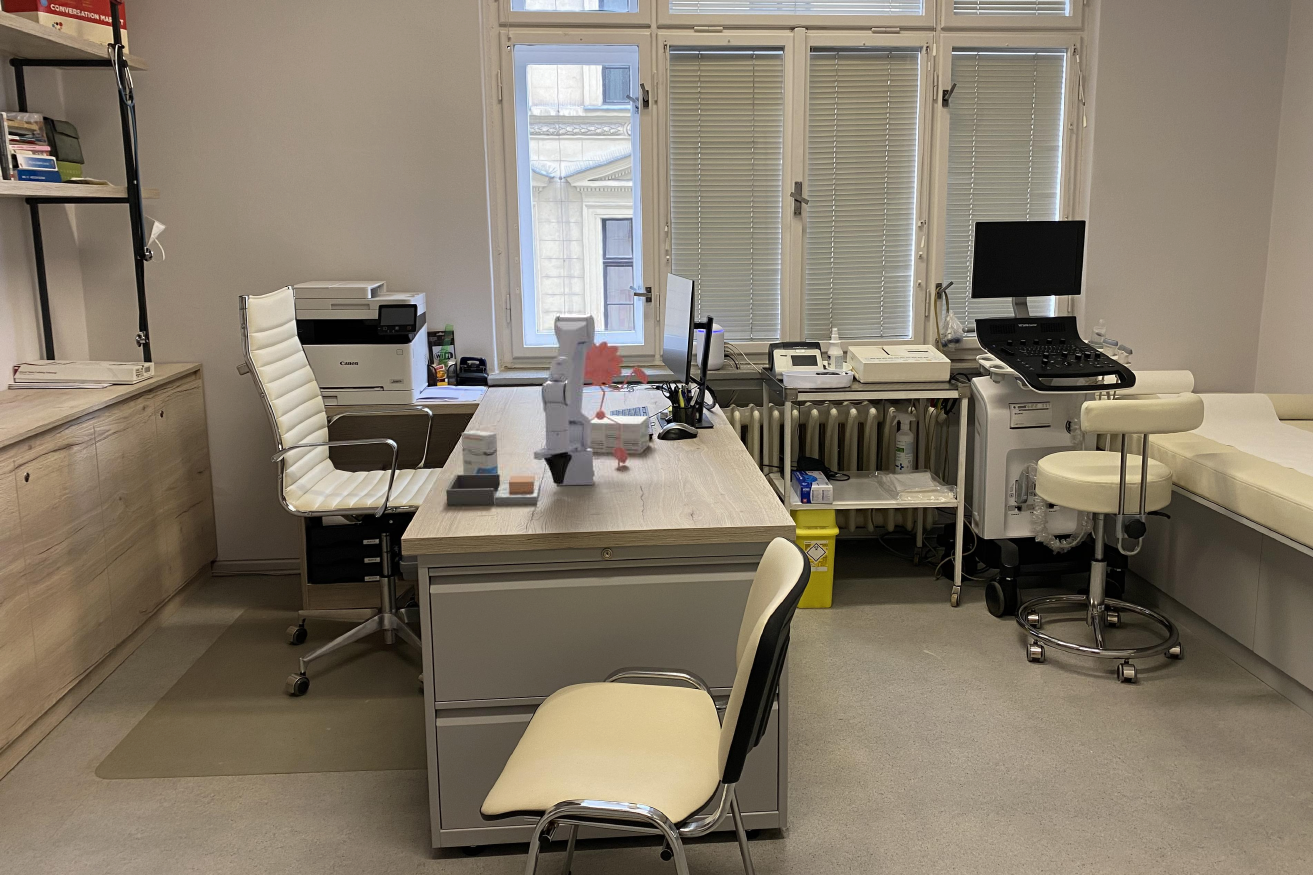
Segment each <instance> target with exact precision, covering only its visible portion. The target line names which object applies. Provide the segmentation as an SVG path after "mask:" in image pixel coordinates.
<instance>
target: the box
mask: <svg viewBox="0 0 1313 875" xmlns="http://www.w3.org/2000/svg"><path fill="white" fill-rule="evenodd" d="M500 480H501V476H500V473H498V474H463V473H462V474H454V475H453V478H452V479H451V481H450V483H449V485H448V487H447V488H446V490H445V491H446V493H445V494H446V506H447V507H476V506H477V507H479V506H480V507H482V506H495V496H496V493H497V491H498V488H499V485H500V483H501V481H500Z"/></svg>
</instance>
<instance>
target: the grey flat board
mask: <svg viewBox="0 0 1313 875" xmlns="http://www.w3.org/2000/svg"><path fill="white" fill-rule="evenodd" d="M540 492H541V480H535V488H534V491H531V492H509V481H508V480H507V481H506V480H505V481H503V480H501V481H500V485H499V488H498V491H497V493H496V496H495V504H494V506H526V505H527V506H532V505H535V506H536V505H538V502H539V496H540Z"/></svg>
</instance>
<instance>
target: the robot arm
mask: <svg viewBox="0 0 1313 875" xmlns="http://www.w3.org/2000/svg"><path fill="white" fill-rule="evenodd" d="M595 323H596V322H595V317H594V316H593V315H592V314H561V313H559V314H557V315H556V316H555V318H554V322H553V328H554V330H553V331H554V335H555V337H556V340H557V344H558V348H557V350H558V351H557V357H555V358H554V359H552V360H551V365H550V367H549V368H550V369H549V373H548V377H547V381H546V382H545V383H543V384H542V386H541V395H540V396H541V402H542V409H543V412H544V415H545V417H544V419H545V420H544V422H545V423H544V424H545V445H544V446H543V447H542V448H540V449H538V450H534V451H533V459H534V460H537V461H542V460H544V461H545V463H546V465H547V466H548V469H549V471H550V474H551V478H552V481H553V484H556V486H587V485H589V486H590V485H591V486H592V485H593V484H594V477H595V469H594V456H593V454H594V452H593V449H586V448H588V447H589V446H590V444H591V422H590V419H591V418H589V417H588V416H587V415H585V413H583V412H582V409H583V408H582V406H583V396H584V395H583V394H584V388H583V386H584V383H585V379H584V372H585V371H584V369H585V359H586V354H587V351H588V350H590V349H592V348H593V344H594V343H595V336H596V335H595V332H596V325H595Z"/></svg>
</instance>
